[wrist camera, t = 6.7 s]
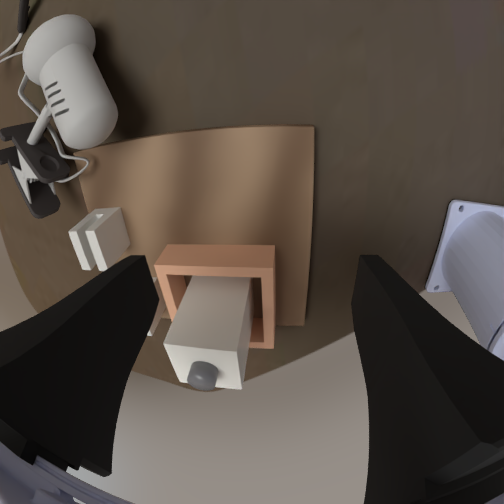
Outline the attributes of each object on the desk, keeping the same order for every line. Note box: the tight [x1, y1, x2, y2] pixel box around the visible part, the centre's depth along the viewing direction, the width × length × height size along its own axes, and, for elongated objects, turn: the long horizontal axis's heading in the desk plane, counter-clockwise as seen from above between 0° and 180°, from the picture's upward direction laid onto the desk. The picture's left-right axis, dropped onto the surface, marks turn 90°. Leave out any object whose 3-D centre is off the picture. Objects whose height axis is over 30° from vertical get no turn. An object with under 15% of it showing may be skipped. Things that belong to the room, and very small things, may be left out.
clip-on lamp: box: [0, 0, 118, 219], centre depth 11 cm, size 12×6×18 cm
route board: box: [74, 124, 314, 326], centre depth 19 cm, size 16×15×1 cm
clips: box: [68, 207, 166, 336], centre depth 19 cm, size 4×9×3 cm, turn 3°
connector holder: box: [154, 244, 276, 349], centre depth 20 cm, size 7×7×2 cm
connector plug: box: [163, 275, 254, 390], centre depth 17 cm, size 4×4×8 cm
